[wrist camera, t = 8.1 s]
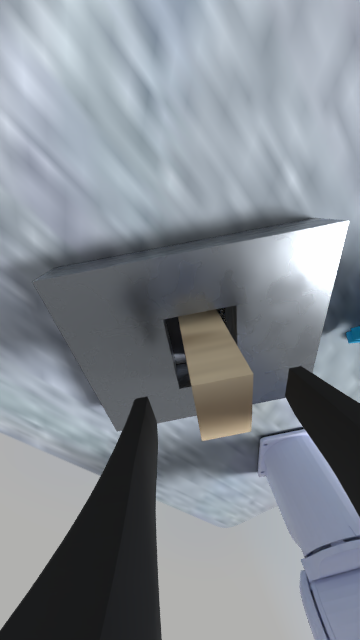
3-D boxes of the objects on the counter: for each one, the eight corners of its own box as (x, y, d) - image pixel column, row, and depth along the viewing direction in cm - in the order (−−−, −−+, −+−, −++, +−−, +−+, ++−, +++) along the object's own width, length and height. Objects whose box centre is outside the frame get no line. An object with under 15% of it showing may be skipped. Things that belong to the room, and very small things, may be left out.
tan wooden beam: (216, 348, 16) (251, 431, 10) (184, 354, 16) (202, 441, 10) (212, 302, 14) (253, 373, 8) (176, 309, 14) (191, 386, 8)
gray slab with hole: (289, 371, 19) (307, 393, 17) (121, 405, 19) (116, 431, 16) (314, 218, 12) (349, 220, 10) (54, 268, 12) (32, 281, 10)
